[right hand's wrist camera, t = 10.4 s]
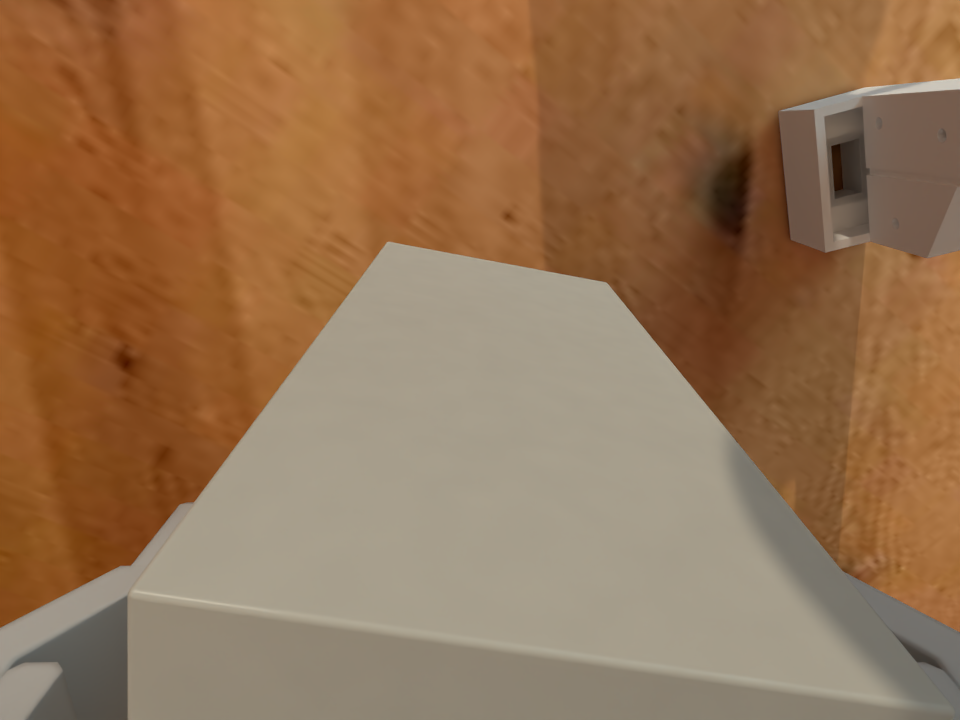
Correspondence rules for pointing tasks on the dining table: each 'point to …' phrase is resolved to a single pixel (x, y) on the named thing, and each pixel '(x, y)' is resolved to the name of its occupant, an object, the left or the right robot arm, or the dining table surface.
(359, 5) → the dining table surface
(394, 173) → the dining table surface
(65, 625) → the right robot arm
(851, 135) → the white angled block
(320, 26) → the dining table surface
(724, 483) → the box
